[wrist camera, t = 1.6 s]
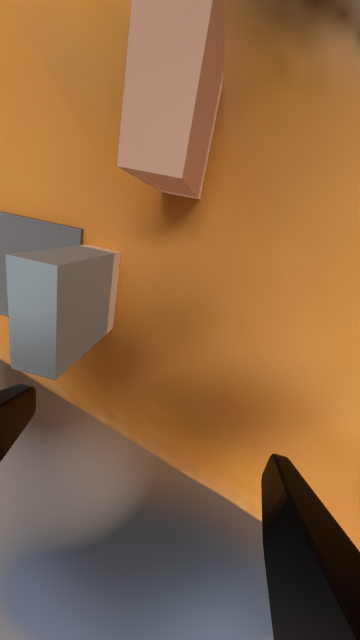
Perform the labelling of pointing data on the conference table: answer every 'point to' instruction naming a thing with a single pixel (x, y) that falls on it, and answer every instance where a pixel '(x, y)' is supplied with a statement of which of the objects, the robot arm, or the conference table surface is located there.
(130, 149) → the terracotta block
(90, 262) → the blue-grey block
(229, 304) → the conference table surface
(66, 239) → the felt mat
